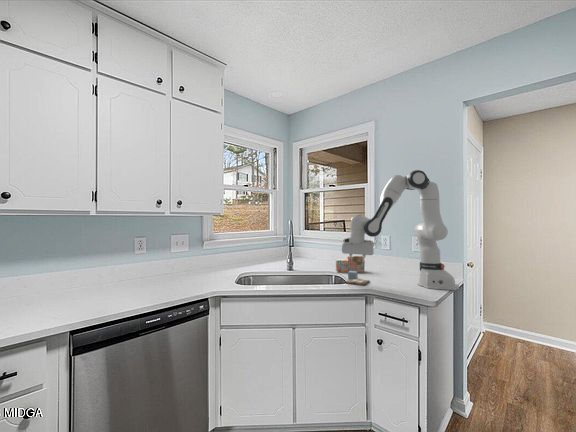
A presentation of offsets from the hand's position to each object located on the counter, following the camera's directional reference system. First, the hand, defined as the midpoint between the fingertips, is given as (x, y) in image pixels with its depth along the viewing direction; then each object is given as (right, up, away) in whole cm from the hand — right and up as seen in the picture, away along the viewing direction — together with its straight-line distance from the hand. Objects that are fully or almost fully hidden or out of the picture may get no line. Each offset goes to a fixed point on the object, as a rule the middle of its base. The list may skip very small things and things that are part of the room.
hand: (357, 261), depth 191 cm
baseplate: (0, -14, 0) cm, 14 cm away
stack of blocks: (+4, -15, +40) cm, 43 cm away
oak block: (0, -2, 0) cm, 2 cm away
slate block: (0, -14, +13) cm, 19 cm away
